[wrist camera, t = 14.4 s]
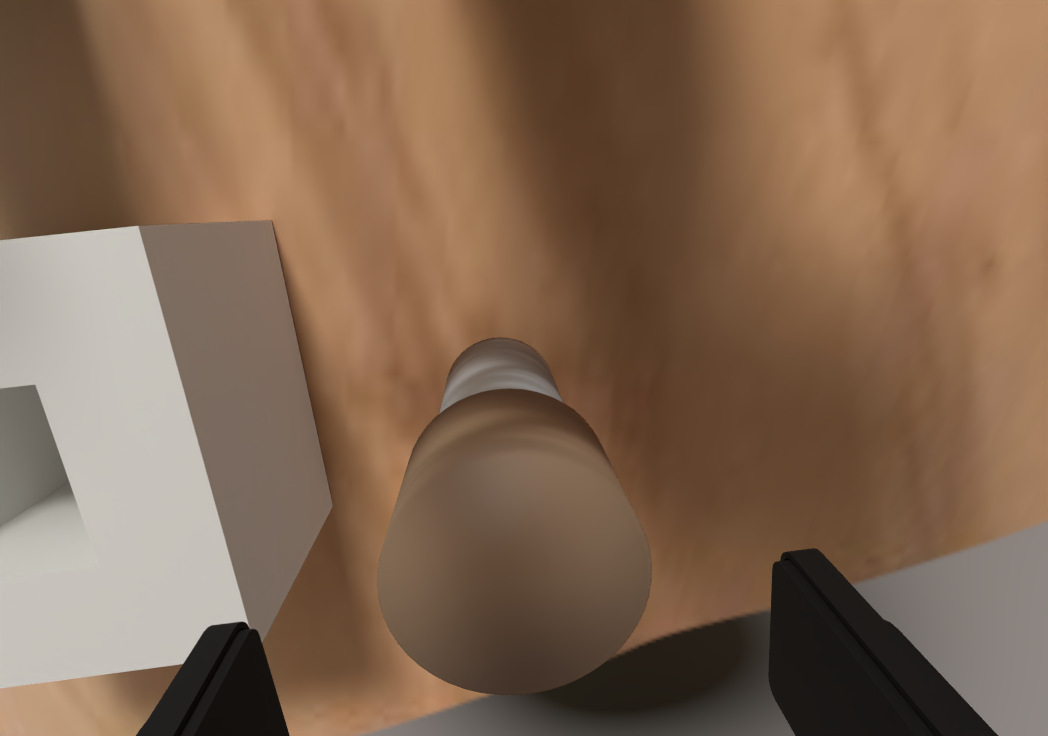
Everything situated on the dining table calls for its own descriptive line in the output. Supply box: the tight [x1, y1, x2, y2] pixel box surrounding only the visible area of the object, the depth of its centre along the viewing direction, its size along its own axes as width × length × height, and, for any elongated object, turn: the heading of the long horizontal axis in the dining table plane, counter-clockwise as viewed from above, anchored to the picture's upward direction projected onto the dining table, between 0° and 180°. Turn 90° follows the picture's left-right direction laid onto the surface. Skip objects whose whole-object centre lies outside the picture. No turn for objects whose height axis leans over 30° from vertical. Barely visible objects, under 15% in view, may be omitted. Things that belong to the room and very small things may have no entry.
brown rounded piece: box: [377, 338, 652, 695], centre depth 21 cm, size 6×6×15 cm
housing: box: [0, 220, 333, 688], centre depth 22 cm, size 14×14×10 cm
